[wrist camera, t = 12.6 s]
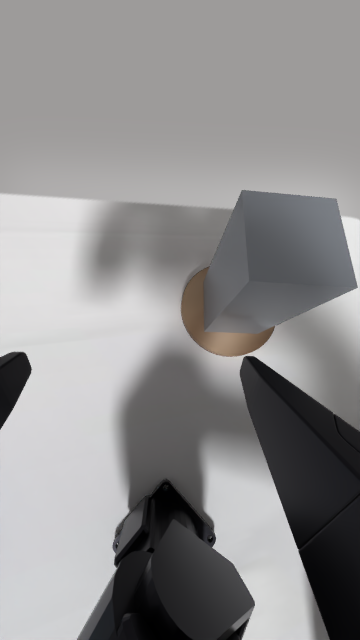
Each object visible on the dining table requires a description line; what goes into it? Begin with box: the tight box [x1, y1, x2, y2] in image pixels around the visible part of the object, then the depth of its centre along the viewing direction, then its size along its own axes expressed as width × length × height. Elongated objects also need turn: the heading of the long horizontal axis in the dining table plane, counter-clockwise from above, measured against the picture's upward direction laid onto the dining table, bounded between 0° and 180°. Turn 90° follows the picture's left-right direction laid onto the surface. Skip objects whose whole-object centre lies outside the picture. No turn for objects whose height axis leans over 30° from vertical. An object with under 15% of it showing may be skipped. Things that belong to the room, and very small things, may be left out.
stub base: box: [181, 267, 275, 357], centre depth 22 cm, size 11×11×5 cm
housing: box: [203, 190, 358, 334], centre depth 17 cm, size 6×6×12 cm
